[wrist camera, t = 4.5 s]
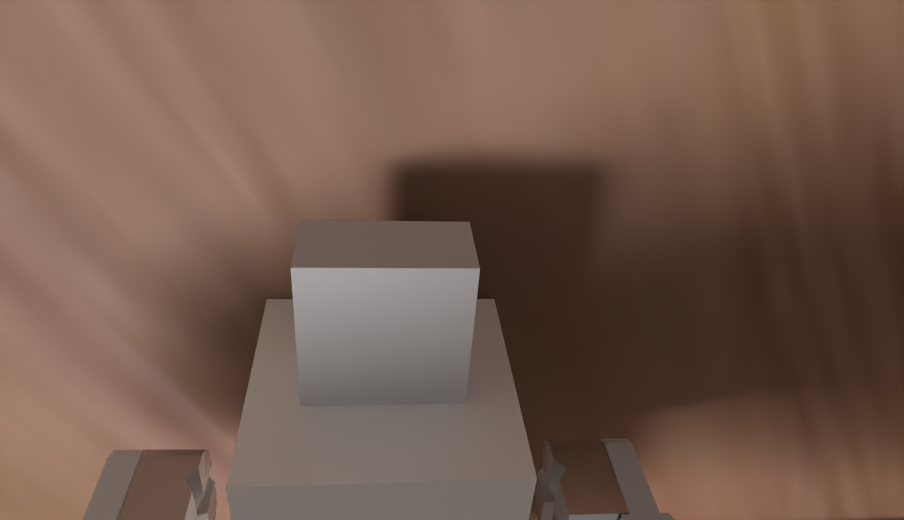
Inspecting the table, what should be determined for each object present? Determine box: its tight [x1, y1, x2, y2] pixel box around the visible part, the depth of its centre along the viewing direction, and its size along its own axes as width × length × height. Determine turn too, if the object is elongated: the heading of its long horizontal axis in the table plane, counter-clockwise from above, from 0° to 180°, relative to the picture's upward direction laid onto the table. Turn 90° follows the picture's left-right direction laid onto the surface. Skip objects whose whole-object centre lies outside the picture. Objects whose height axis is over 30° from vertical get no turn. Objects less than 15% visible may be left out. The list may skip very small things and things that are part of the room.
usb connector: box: [226, 220, 537, 520], centre depth 12 cm, size 9×4×4 cm, turn 176°
